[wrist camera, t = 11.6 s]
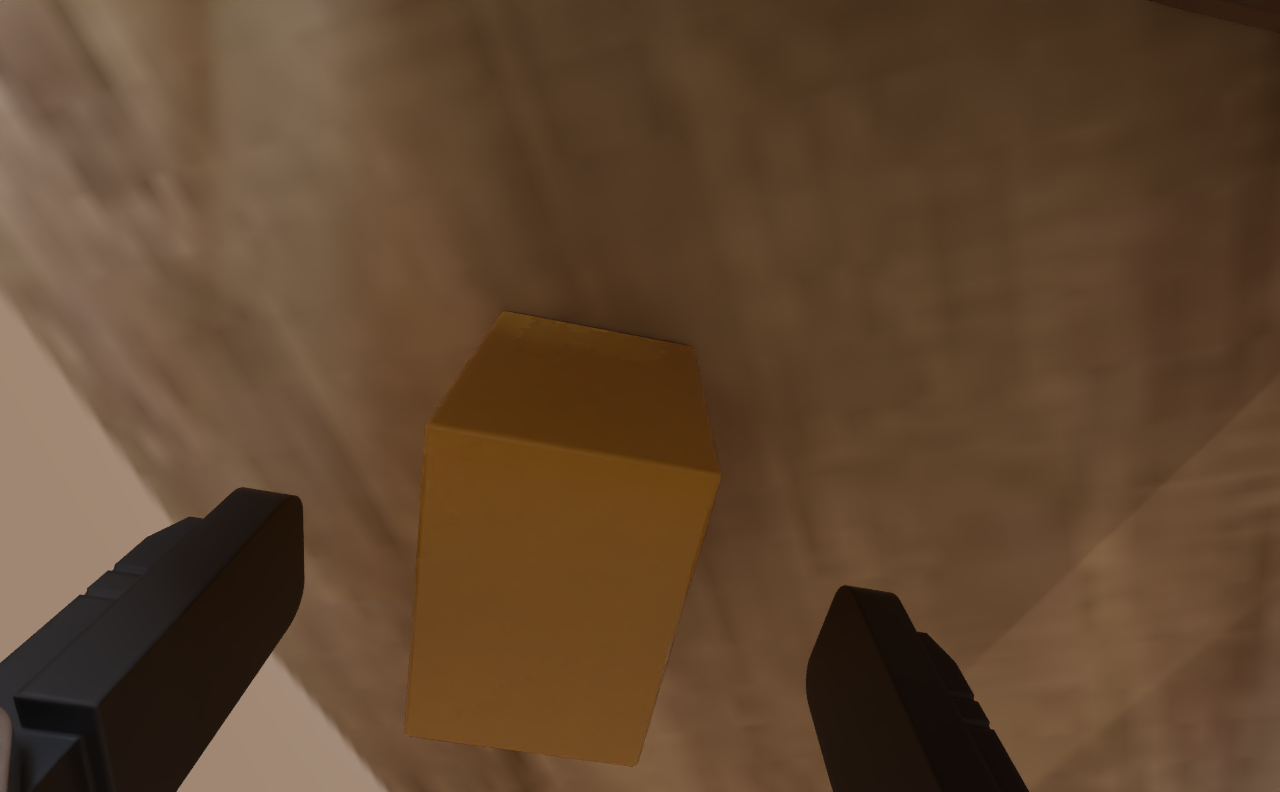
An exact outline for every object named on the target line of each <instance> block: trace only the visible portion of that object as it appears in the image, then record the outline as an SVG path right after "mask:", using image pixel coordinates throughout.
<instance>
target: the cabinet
mask: <svg viewBox="0 0 1280 792" xmlns="http://www.w3.org/2000/svg"><path fill="white" fill-rule="evenodd" d="M1150 1H1154V2H1158V3H1162V4H1166V5H1170V6H1174V7H1178V8H1182V9H1186V10H1190V11H1195V12H1199V13H1203V14H1207V15H1211V16H1215V17H1219V18H1223V19H1227V20H1231V21H1235V22H1239V23H1243V24H1247V25H1251V26H1255V27H1259V28H1263V29H1268V30H1272V31H1276V32H1280V0H1150Z"/></svg>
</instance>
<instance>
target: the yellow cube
mask: <svg viewBox="0 0 1280 792" xmlns="http://www.w3.org/2000/svg"><path fill="white" fill-rule="evenodd" d="M720 480H721V472H720V468H719V463H718V458H717V454H716V449H715V444H714V440H713V435H712V431H711V426H710V421H709V417H708V412H707V408H706V403H705V398H704V394H703V389H702V385H701V380H700V375H699V371H698V366H697V362H696V357H695V352H694V348H693V347H691V346H687V345H682V344H676V343H671V342H666V341H660V340H655V339H650V338H645V337H639V336H634V335H629V334H623V333H618V332H613V331H608V330H602V329H597V328H592V327H586V326H581V325H576V324H571V323H565V322H560V321H555V320H549V319H544V318H539V317H533V316H528V315H523V314H518V313H512V312H507V311H504V312H502V313H501V314H500V316H499V317H498V318H497V320H496V321H495V323H494V324H493V326H492V327H491V329H490V330H489V332H488V333H487V335H486V336H485V338H484V339H483V341H482V342H481V344H480V345H479V347H478V348H477V350H476V351H475V352H474V354H473V355H472V357H471V358H470V360H469V361H468V363H467V364H466V366H465V367H464V369H463V370H462V372H461V373H460V375H459V376H458V378H457V379H456V381H455V382H454V384H453V385H452V386H451V388H450V389H449V391H448V392H447V394H446V395H445V397H444V398H443V400H442V401H441V403H440V404H439V406H438V407H437V409H436V410H435V412H434V413H433V415H432V416H431V418H430V419H429V420H428V422H427V424H426V425H425V438H424V452H423V467H422V481H421V496H420V511H419V525H418V540H417V554H416V569H415V583H414V598H413V612H412V627H411V641H410V656H409V671H408V685H407V700H406V714H405V734H406V735H407V736H410V737H418V738H425V739H432V740H440V741H447V742H455V743H462V744H469V745H477V746H484V747H491V748H499V749H506V750H514V751H521V752H528V753H536V754H543V755H551V756H558V757H565V758H573V759H580V760H588V761H595V762H602V763H610V764H617V765H624V766H632V767H633V766H636V765H637V763H638V761H639V758H640V755H641V751H642V748H643V744H644V741H645V737H646V734H647V731H648V727H649V724H650V720H651V717H652V713H653V710H654V707H655V703H656V700H657V696H658V693H659V689H660V686H661V682H662V679H663V676H664V672H665V669H666V665H667V662H668V658H669V655H670V652H671V648H672V645H673V641H674V638H675V634H676V631H677V628H678V624H679V621H680V617H681V614H682V610H683V607H684V603H685V600H686V597H687V593H688V590H689V586H690V583H691V579H692V576H693V573H694V569H695V566H696V562H697V559H698V555H699V552H700V549H701V545H702V542H703V538H704V535H705V531H706V528H707V525H708V521H709V518H710V514H711V511H712V507H713V504H714V500H715V497H716V494H717V490H718V487H719V483H720Z"/></svg>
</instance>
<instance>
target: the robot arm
mask: <svg viewBox="0 0 1280 792" xmlns="http://www.w3.org/2000/svg"><path fill="white" fill-rule="evenodd" d="M303 589H304V531H303V506H302V502H301V500H300V498H299V497H298V496H294V495H288V494H282V493H276V492H269V491H263V490H257V489H251V488H244V487H242V488H238V489H236V490H235V491H233V492H232V493H231V494H230V495H229V496H228V497H226V498H225V499H224V500H223V501H222V502H221V503H220V504H219V505H218V506H217V507H216V508H215V509H214V510H212V511H211V512H210V513H209V514H208V515H207V516H206V517H205V518H204V519H201V518H195V517H188V518H186V519H183V520H181V521H179V522H177V523H175V524H173V525H171V526H169V527H167V528H165V529H163V530H161V531H159V532H157V533H154V534H152V535H151V536H148V537H147V538H145V539H144V540H143V541H142V542H141V543H140V544H138V545H137V546H136V547H135V548H134V549H133V550H131V551H130V552H129V553H128V554H127V555H126V556H124V557H123V558H122V559H121V560H120V561H119V562H117V563H116V564H115V567H114V569H113V571H107V572H106V573H105V574H103V575H102V576H101V577H100V578H99V579H98V580H96V581H95V582H94V583H93V584H92V585H91V586H90V587H88V588H87V592H86V594H85V595H79V596H78V597H77V598H76V599H74V600H73V601H72V602H71V603H70V604H68V605H67V606H66V607H65V608H64V609H63V610H61V611H60V612H59V613H58V614H57V615H56V616H55V617H53V618H52V619H51V620H50V621H49V622H47V623H46V624H45V625H44V626H43V627H42V628H41V629H39V630H38V631H37V632H36V633H35V634H34V635H33V636H31V637H30V638H29V639H28V640H27V641H26V642H24V643H23V644H22V645H21V646H20V647H19V648H17V649H16V650H15V651H14V652H13V653H11V654H10V655H9V656H8V657H7V658H6V659H4V660H3V661H2V662H1V663H0V792H176V791H177V790H178V788H179V786H180V785H181V784H182V782H183V781H184V779H185V778H186V777H187V775H188V774H189V772H190V771H191V769H192V768H193V766H194V765H195V763H196V762H197V761H198V759H199V758H200V756H201V755H202V753H203V752H204V750H205V749H206V747H207V746H208V744H209V743H210V742H211V740H212V739H213V737H214V736H215V734H216V733H217V731H218V730H219V728H220V727H221V725H222V724H223V723H224V721H225V719H226V718H227V717H228V715H229V713H230V712H231V711H232V710H233V708H234V707H235V705H236V704H237V702H238V701H239V699H240V698H241V696H242V695H243V693H244V692H245V691H246V689H247V688H248V686H249V685H250V683H251V682H252V680H253V679H254V677H255V676H256V674H257V673H258V672H259V670H260V669H261V667H262V665H263V664H264V663H265V661H266V660H267V658H268V657H269V656H270V654H271V653H272V651H273V650H274V648H275V647H276V645H277V644H278V642H279V641H280V639H281V638H282V637H283V635H284V634H285V632H286V631H287V629H288V628H289V626H290V625H291V623H292V621H293V619H294V617H295V615H296V613H297V610H298V608H299V605H300V602H301V598H302V594H303ZM806 694H807V700H808V705H809V708H810V712H811V715H812V719H813V723H814V726H815V730H816V733H817V737H818V740H819V744H820V747H821V751H822V755H823V758H824V762H825V765H826V769H827V772H828V776H829V779H830V783H831V787H832V790H833V792H1029V790H1028V789H1027V787H1026V785H1025V783H1024V782H1023V780H1022V778H1021V776H1020V775H1019V773H1018V771H1017V769H1016V768H1015V766H1014V764H1013V762H1012V761H1011V759H1010V757H1009V755H1008V754H1007V752H1006V750H1005V748H1004V747H1003V745H1002V743H1001V741H1000V740H999V738H998V736H997V734H996V733H995V731H994V730H992V729H990V727H989V723H990V722H989V720H988V719H987V717H986V715H985V713H984V712H983V710H982V708H981V706H980V705H979V703H978V702H977V701H974V694H973V692H972V690H971V689H970V687H969V685H968V683H967V682H966V680H965V678H964V676H963V675H962V673H961V671H960V669H959V668H958V666H957V664H956V663H955V661H954V660H953V659H952V658H951V657H950V656H949V655H948V654H947V653H946V652H945V651H944V650H943V649H942V648H941V647H940V646H939V645H938V644H937V643H936V642H935V641H934V640H933V639H932V638H931V637H930V636H929V635H928V634H927V633H922V632H917V631H916V629H915V627H914V626H913V624H912V622H911V620H910V618H909V616H908V614H907V612H906V610H905V609H904V607H903V605H902V603H901V601H900V600H899V598H898V597H897V596H896V595H895V594H894V593H890V592H884V591H878V590H872V589H866V588H859V587H853V586H847V585H844V586H842V587H840V588H839V589H838V590H837V592H836V594H835V596H834V598H833V601H832V603H831V606H830V608H829V611H828V613H827V616H826V618H825V621H824V623H823V626H822V628H821V631H820V633H819V636H818V638H817V641H816V643H815V646H814V648H813V651H812V653H811V656H810V658H809V662H808V666H807V673H806Z"/></svg>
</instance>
